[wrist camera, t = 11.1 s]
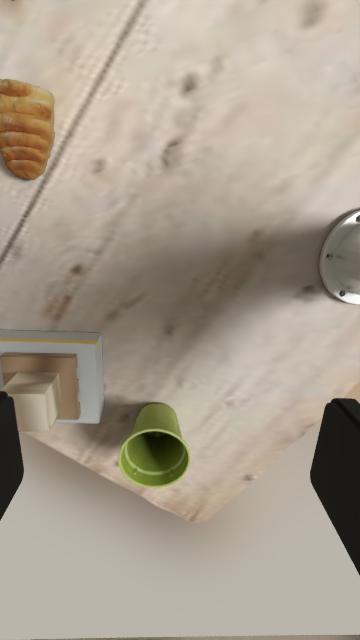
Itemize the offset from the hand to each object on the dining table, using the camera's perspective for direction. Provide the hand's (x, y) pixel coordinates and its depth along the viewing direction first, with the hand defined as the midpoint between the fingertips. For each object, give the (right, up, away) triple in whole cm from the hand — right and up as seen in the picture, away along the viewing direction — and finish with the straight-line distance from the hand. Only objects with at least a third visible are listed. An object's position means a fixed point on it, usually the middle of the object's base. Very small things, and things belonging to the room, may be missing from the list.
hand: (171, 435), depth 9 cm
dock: (-18, -4, +36) cm, 40 cm away
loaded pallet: (-18, -5, +32) cm, 37 cm away
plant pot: (-3, -12, +39) cm, 41 cm away
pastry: (-17, +25, +26) cm, 40 cm away
